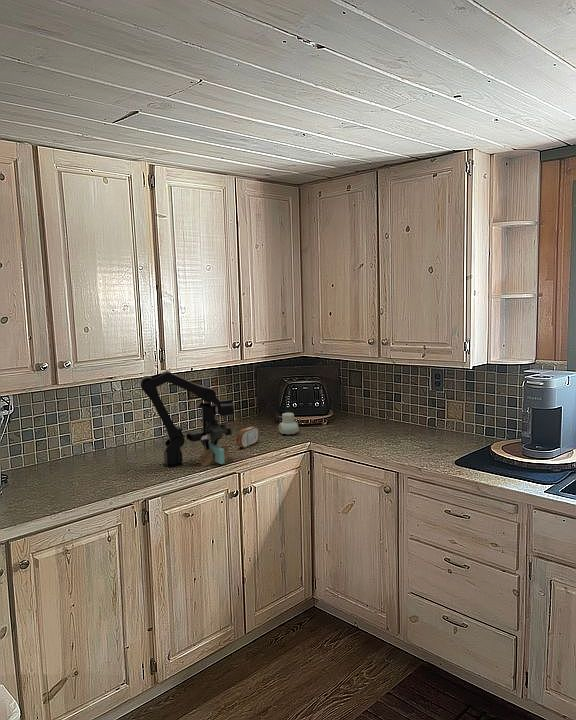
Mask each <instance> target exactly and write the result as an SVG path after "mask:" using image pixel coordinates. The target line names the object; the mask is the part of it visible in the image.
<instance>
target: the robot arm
mask: <svg viewBox="0 0 576 720" xmlns="http://www.w3.org/2000/svg"><path fill="white" fill-rule="evenodd" d="M166 383H170V384H172V385H174V386H176V387H179V388H181V389H184V390H186V391H188V392H190V393H193V394H194V395H195V396H196V397H198V398H199V399H201V400H202V401H199V403H198V404H197V405H196V407H197V408H198V409H201V418H200V423H201V424H202V425H201V426H202V428H201V429H200V431H201V432H198V431H190V432H189V431H188V432H187V434H186V435H185V434H184V432H183V430H182V428H181V426H180V425H179V424H178V425H177V426H176V424H174V422H173V420H172V418H171V416H170V414H169V412H168V410H167V408H166V407H165V404H164V403H163V401H162V399H161V397H160V395H159V391H158V388H157V387H161V386H163V385H164V384H166ZM139 385H140V388H141V390H142V391H143V392H144V393H145V395H146V396H147V397H148V398H149V399H150V401H151V403H152V405H153V407H154V408H155V410H156V413H157V414H158V417H159V418H160V420H161V421H162V424H163V426H164V428H165V430H166V434H167V437H168V439H167V440H166V441H165V442H164V443H163V445H164V447H165V449H164V450H163V454H164V455H163V456H164V457H163V459H164V460H163V461H164V462H162V465H164V466H165V467H167V468H173V467H178V466H182V465H184V463H183V452H182V449H181V448H182V447H183V446H184V444H185V442H186V440H185V437H186V439H187V440H189V441H190V442H201V445H202V446H203V448H204V449H203V450H207V449H209V444H208V442H211V443H213V444H215V445H217V444H218V442H219V441H220V440H221V439H223V436H225V437H226V436H231V435H232V434H233V430H232V428H230V427H229V426H227V424H226V423H223V424H219V422H218V419H216V418H217V415H219V417H229V416H234V414H235V408H234V404H233V400H232V399H224V400H222V399H221V400H220V399H219V398H218V397H217V394H216V391H215V390H214V389H213V388H211V386H206V385H202V384H197V383H194V382H192V381H191V380H188V379H186V378H184V377H181V376H179V375H177V374H175V373H172V372H171V371H170V370H166V371H164V372H161V373H157V374H153V375H144V376H143V377H141V379H140V381H139ZM203 401H204V402H203ZM211 403H212V404H211ZM209 438H210V439H209ZM217 446H218V445H217Z"/></svg>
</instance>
